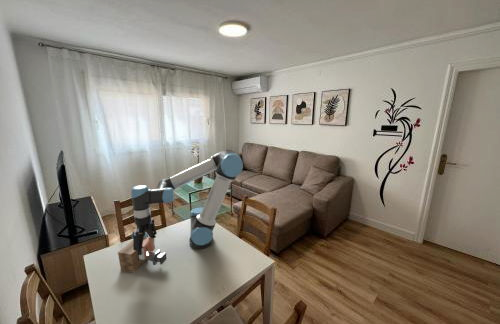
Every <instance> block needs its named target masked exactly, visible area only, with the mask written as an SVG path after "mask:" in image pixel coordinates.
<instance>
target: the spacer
mask: <svg viewBox="0 0 500 324" xmlns="http://www.w3.org/2000/svg"><path fill="white" fill-rule="evenodd" d="M154 245H155V241H154V242H153V238H150V237H149V236H148V238H147V239H145V240H144V241H143V245H142V248H143V249H144V257H145V259H146V258H147V254H146V247H147V249H148V251H149V252H154V251H155V249H154Z"/></svg>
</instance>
